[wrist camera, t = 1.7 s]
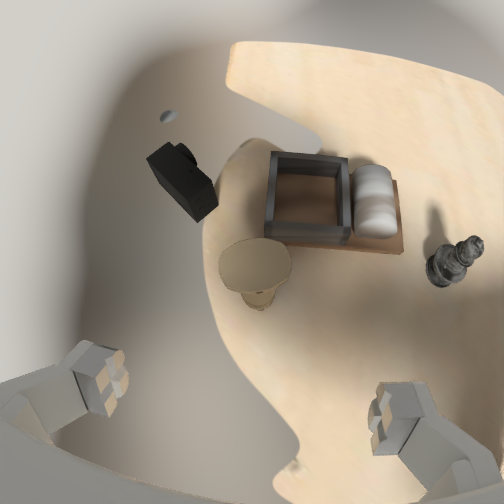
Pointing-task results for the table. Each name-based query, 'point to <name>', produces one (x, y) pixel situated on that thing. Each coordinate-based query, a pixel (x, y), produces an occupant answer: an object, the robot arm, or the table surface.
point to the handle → (255, 269)
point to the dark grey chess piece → (453, 261)
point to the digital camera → (183, 179)
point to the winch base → (332, 204)
